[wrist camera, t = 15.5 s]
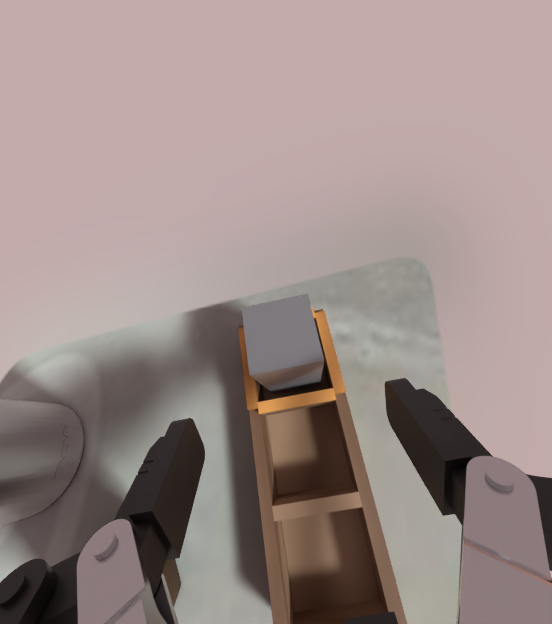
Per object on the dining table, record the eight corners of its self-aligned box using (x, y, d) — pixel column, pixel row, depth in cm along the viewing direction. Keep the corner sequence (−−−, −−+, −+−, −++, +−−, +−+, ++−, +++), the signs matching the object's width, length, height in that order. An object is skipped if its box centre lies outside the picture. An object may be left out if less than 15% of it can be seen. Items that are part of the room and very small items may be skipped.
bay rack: (285, 620, 17) (277, 680, 13) (249, 334, 26) (237, 317, 22) (393, 605, 17) (418, 662, 13) (319, 320, 26) (321, 300, 21)
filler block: (274, 394, 22) (249, 375, 14) (267, 350, 24) (241, 307, 15) (319, 385, 22) (324, 360, 13) (309, 341, 24) (307, 293, 15)
